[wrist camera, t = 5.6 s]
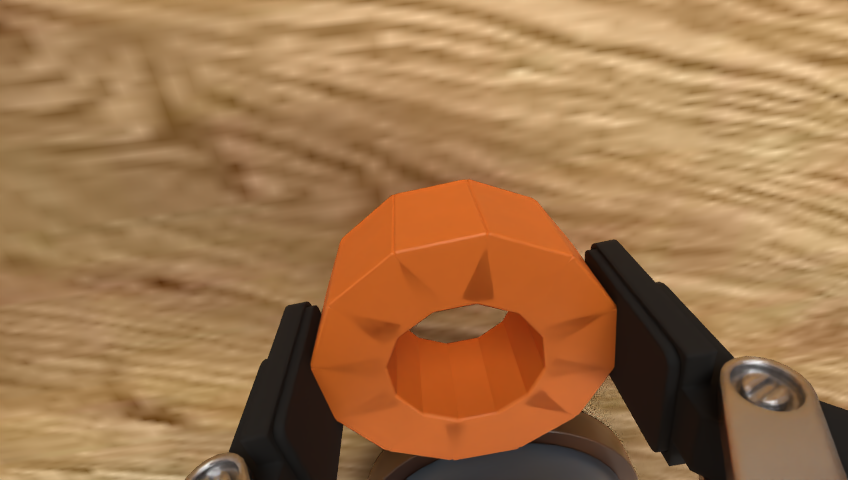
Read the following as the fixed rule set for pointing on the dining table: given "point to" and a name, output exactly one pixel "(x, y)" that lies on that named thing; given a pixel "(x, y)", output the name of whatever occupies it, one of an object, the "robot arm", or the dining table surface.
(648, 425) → the robot arm
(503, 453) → the stacking toy
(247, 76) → the dining table surface
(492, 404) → the orange ring
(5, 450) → the dining table surface
